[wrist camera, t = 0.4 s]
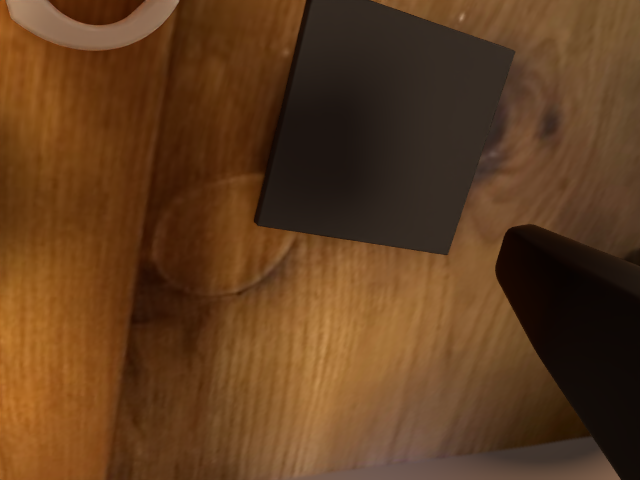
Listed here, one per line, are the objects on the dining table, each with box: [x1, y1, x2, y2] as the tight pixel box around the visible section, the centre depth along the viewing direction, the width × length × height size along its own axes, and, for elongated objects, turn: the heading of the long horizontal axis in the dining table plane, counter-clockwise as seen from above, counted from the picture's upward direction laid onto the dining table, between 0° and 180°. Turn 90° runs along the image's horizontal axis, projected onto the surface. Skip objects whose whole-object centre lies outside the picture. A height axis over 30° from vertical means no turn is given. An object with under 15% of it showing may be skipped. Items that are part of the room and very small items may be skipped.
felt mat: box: [254, 0, 515, 255], centre depth 26 cm, size 10×10×1 cm
